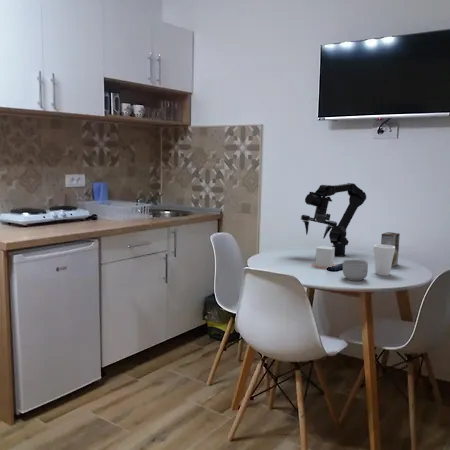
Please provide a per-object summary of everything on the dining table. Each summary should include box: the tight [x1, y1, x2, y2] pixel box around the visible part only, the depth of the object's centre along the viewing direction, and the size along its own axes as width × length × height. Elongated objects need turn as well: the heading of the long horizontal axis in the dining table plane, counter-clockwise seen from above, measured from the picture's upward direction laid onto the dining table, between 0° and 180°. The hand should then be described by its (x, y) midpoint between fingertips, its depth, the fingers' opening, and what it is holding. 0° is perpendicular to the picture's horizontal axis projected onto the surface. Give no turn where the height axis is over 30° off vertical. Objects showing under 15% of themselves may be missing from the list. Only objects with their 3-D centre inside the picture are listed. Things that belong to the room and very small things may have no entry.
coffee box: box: [380, 231, 401, 268], centre depth 233 cm, size 9×6×16 cm
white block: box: [314, 245, 335, 268], centre depth 225 cm, size 7×7×9 cm
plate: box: [310, 262, 337, 270], centre depth 225 cm, size 13×13×1 cm
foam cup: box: [373, 243, 395, 276], centre depth 213 cm, size 10×9×13 cm
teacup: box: [341, 258, 369, 282], centre depth 204 cm, size 14×11×8 cm
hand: (315, 236), depth 245 cm, fingers open, 9 cm apart
